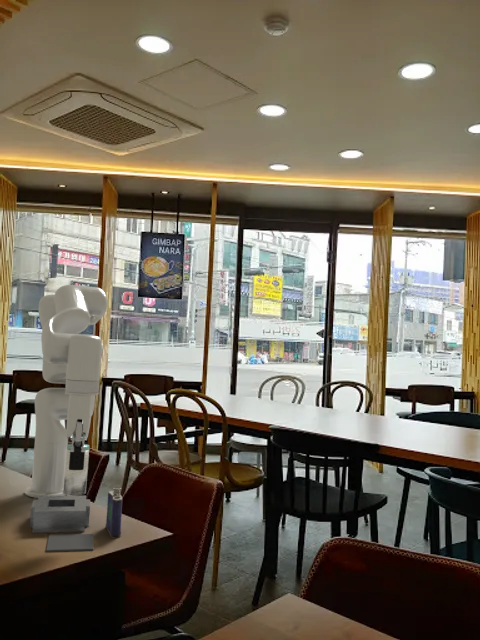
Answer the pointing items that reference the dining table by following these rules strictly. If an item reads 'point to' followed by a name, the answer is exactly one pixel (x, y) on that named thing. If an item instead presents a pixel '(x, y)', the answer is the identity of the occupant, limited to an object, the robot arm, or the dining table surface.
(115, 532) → the flask
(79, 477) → the light piece
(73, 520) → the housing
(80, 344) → the robot arm
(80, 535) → the mat
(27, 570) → the dining table surface
